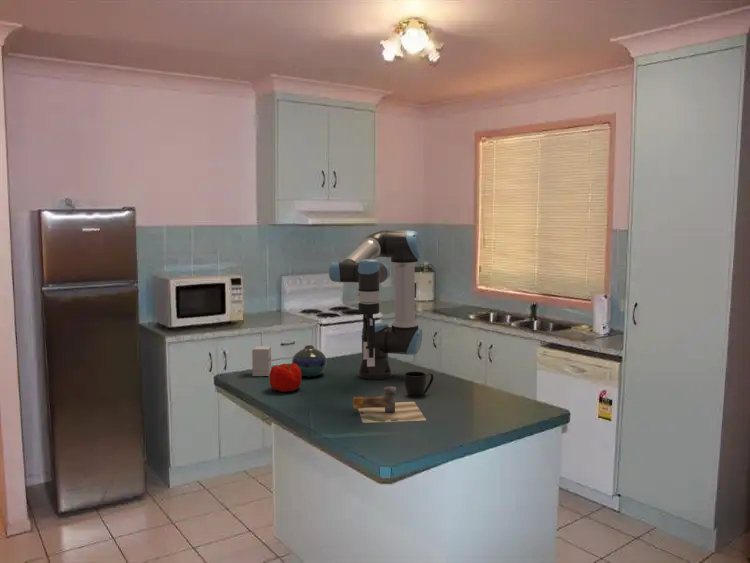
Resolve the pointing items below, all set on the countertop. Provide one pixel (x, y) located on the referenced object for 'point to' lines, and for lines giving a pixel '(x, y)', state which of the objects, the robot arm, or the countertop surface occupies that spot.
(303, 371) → the vase
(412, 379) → the mug
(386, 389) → the peg lever
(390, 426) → the countertop surface
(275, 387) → the tomato
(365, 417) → the dial board
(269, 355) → the supplement box
